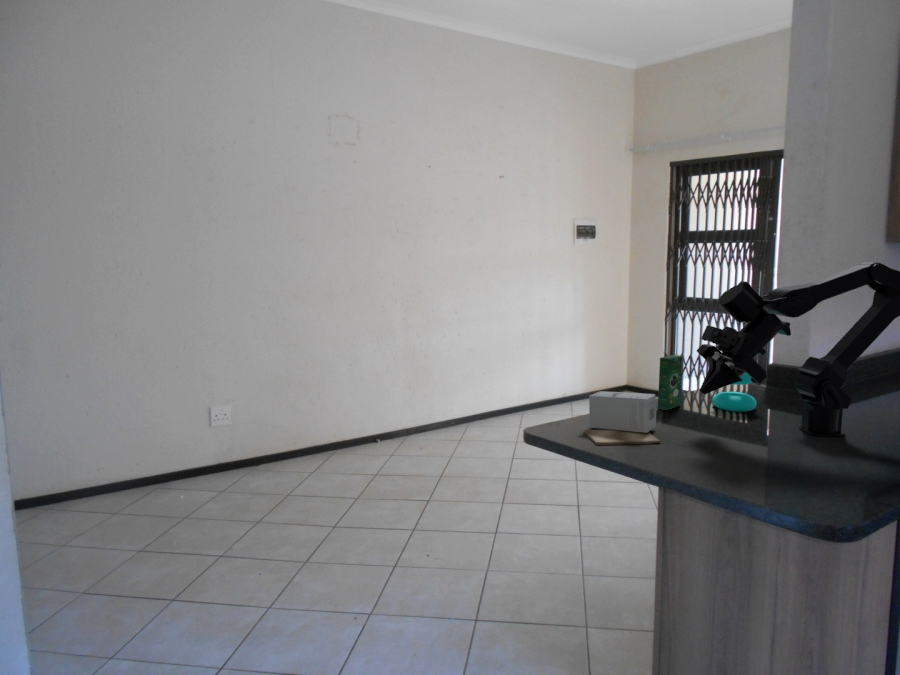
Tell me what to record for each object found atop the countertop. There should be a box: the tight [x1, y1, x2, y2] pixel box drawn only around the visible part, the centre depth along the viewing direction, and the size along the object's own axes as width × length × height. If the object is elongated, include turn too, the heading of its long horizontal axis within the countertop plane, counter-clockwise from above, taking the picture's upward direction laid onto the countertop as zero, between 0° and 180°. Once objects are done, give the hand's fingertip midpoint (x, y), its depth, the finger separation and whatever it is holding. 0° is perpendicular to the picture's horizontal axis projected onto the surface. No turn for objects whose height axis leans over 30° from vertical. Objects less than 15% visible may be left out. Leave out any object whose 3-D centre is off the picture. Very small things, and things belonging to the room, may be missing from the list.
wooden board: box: [583, 429, 661, 446], centre depth 127 cm, size 13×9×1 cm
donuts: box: [712, 373, 758, 413], centre depth 151 cm, size 10×10×10 cm
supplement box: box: [588, 390, 657, 433], centre depth 133 cm, size 7×7×13 cm
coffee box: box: [657, 354, 684, 411], centre depth 151 cm, size 8×3×13 cm, turn 137°
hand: (701, 392), depth 127 cm, fingers closed
